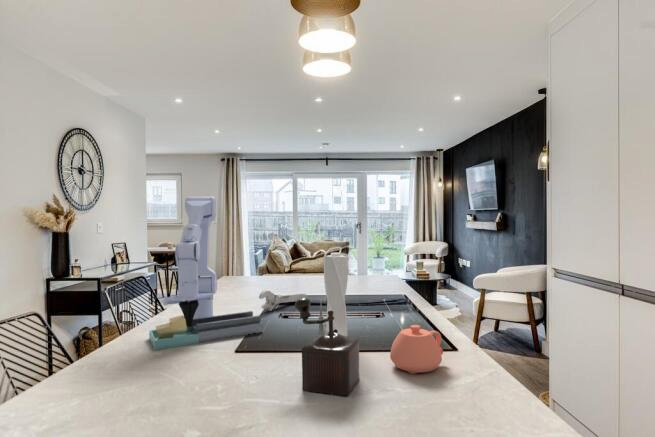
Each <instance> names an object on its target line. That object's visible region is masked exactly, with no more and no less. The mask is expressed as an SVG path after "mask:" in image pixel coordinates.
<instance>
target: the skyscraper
mask: <svg viewBox="0 0 655 437" xmlns="http://www.w3.org/2000/svg"><path fill="white" fill-rule="evenodd" d="M335 249H339V252H331V253H330V255H327V254H328V253H329V251H332V250H335ZM342 249H343V248H342V247H341V246H333V247H330V248H328V249H327V250H326V252H325V253H324V255H323V279H324V289H325V295H326V296H325V298H326V300H327V301H326V302H327V303H326V312H325V313H326V317H325V316H324V315H323V306H322V300H320V301H319V302H320V306H319V315H318V320H322V319H327V318H328V311H330V310H332V311H333V312H334V313H333V317H334V320H333V331H334V330H335V329H337V330H338V332H337V333H338V334H340V335H343V336H347V337H349V336H348V318H347V307H346V299H345V298H346V294H347V287H348V277H349V255H348V253H342ZM317 332H318V335H324V334H326V333H327V332H329V321H327V322H325V327H324V323H320V324H318V331H317Z"/></svg>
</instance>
